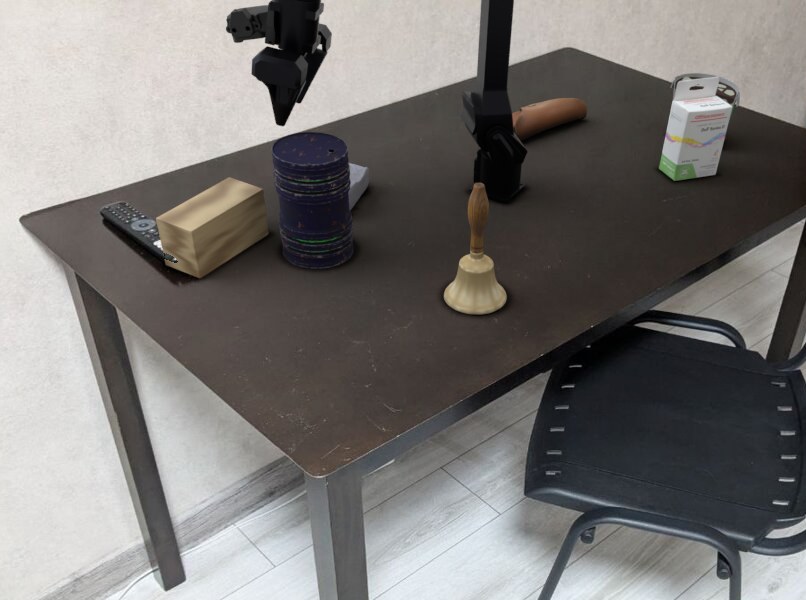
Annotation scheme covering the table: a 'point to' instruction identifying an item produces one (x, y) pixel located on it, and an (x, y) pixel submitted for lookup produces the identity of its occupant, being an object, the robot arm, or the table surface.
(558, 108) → the sunglasses case
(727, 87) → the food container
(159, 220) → the birch block
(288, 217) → the blue barrel
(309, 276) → the table surface
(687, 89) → the ink box
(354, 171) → the stone block
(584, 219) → the table surface
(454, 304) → the hand bell
